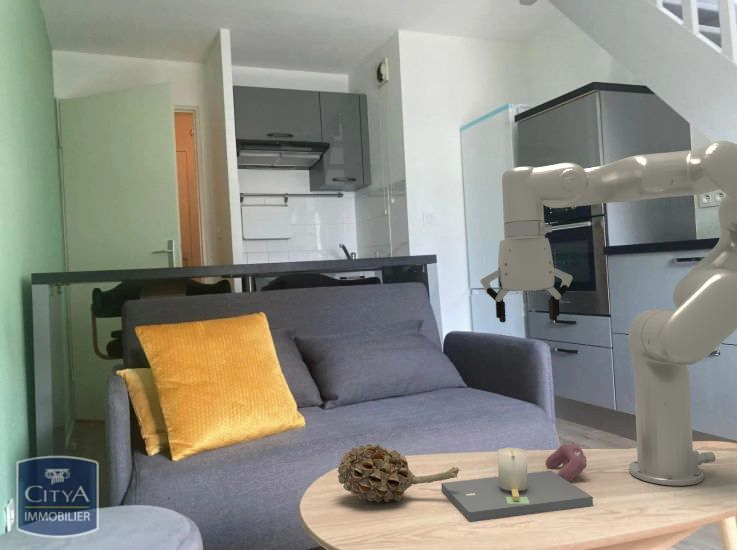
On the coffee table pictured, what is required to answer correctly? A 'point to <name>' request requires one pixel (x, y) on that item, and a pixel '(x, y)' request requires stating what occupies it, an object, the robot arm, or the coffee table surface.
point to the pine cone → (381, 473)
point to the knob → (513, 470)
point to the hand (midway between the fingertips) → (527, 320)
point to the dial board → (494, 502)
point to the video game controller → (568, 461)
